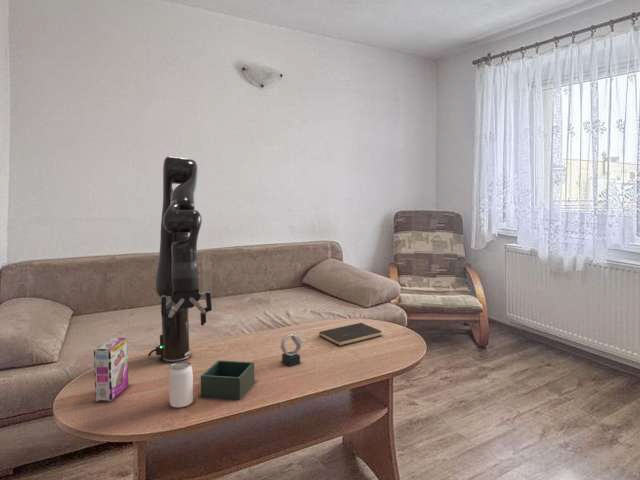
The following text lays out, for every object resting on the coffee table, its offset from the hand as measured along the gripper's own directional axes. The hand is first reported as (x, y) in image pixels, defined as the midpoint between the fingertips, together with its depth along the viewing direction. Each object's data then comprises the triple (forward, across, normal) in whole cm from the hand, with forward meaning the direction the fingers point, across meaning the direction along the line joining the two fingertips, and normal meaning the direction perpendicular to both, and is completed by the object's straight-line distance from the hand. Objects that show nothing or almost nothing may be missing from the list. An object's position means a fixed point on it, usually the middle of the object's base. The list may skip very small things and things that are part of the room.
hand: (187, 326), depth 135 cm
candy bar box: (+22, +22, -11) cm, 32 cm away
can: (+22, +3, +4) cm, 23 cm away
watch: (+22, -36, -12) cm, 44 cm away
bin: (+22, -11, +1) cm, 25 cm away
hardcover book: (+22, -69, -30) cm, 79 cm away
